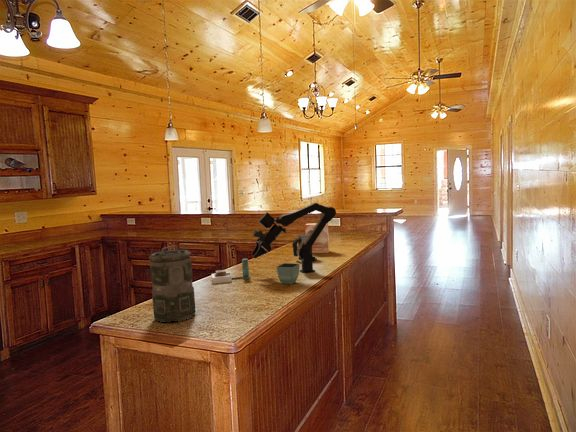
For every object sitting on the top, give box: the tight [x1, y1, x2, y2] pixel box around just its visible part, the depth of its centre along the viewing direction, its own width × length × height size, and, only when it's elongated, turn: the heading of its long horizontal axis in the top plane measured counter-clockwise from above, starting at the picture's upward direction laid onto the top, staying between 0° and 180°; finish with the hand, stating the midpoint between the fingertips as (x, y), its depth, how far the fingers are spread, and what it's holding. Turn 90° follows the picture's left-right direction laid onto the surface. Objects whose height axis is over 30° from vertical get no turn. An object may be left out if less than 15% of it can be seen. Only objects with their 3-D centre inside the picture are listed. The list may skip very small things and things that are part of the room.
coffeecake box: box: [304, 222, 330, 254], centre depth 287 cm, size 15×7×20 cm, turn 81°
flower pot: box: [276, 262, 300, 285], centre depth 209 cm, size 9×9×9 cm
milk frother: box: [292, 233, 318, 262], centre depth 264 cm, size 14×16×15 cm
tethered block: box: [215, 258, 251, 280], centre depth 224 cm, size 18×5×10 cm, turn 101°
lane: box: [211, 271, 233, 284], centre depth 223 cm, size 10×10×3 cm
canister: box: [148, 244, 197, 323], centre depth 166 cm, size 16×16×28 cm
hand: (253, 256), depth 225 cm, fingers open, 9 cm apart
